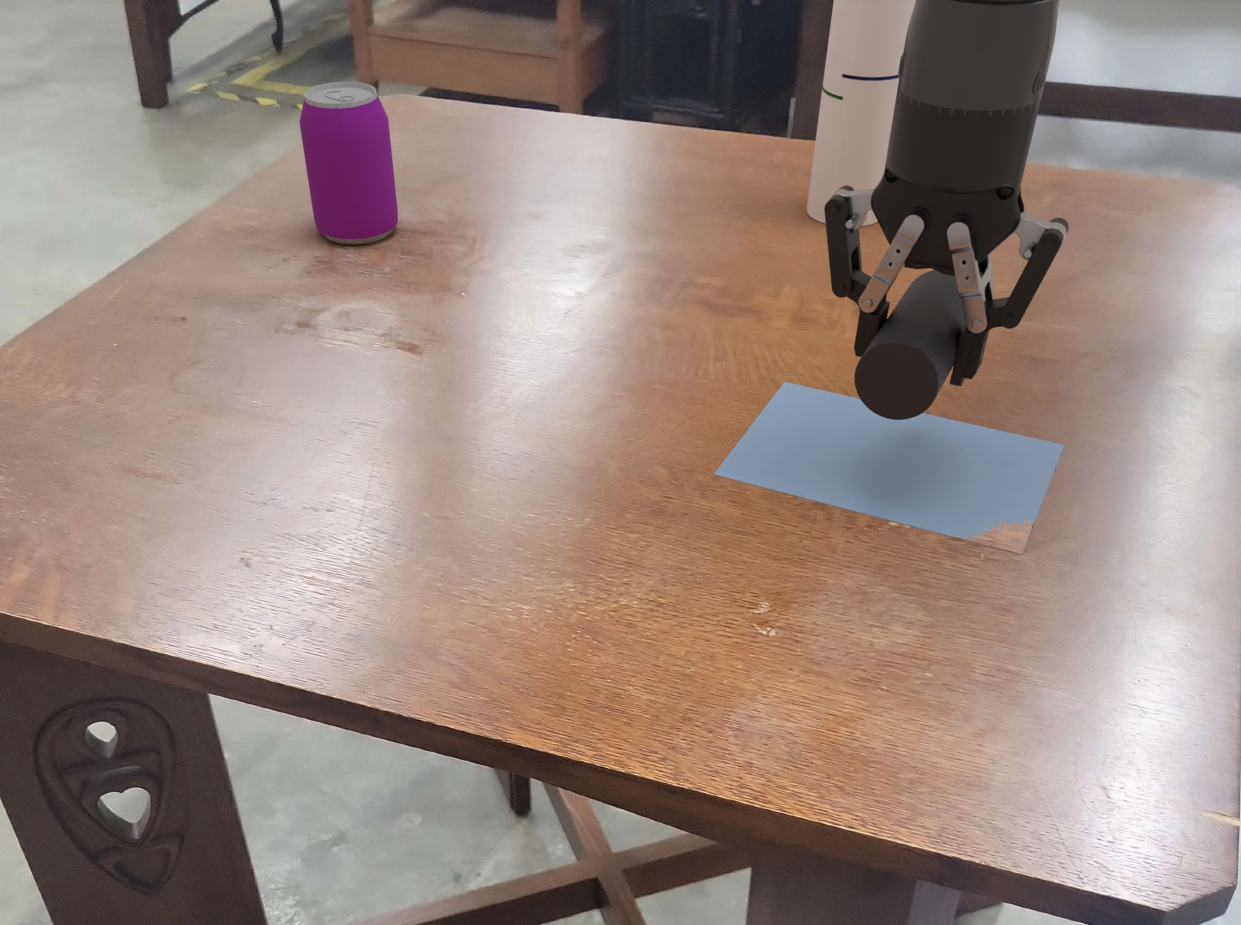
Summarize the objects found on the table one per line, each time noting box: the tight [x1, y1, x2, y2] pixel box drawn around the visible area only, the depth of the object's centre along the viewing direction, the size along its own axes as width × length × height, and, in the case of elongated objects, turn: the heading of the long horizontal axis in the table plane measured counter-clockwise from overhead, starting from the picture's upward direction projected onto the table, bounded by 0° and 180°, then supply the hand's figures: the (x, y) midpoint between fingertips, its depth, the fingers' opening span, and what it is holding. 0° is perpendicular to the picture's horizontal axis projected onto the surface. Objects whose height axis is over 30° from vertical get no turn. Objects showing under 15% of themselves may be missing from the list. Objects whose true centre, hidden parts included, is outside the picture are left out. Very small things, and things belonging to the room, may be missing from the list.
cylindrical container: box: [806, 0, 916, 227], centre depth 103 cm, size 7×7×25 cm
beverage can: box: [299, 81, 399, 246], centre depth 106 cm, size 8×8×12 cm
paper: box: [713, 381, 1065, 542], centre depth 80 cm, size 20×14×1 cm
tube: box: [853, 269, 966, 420], centre depth 74 cm, size 11×5×5 cm, turn 153°
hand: (913, 370), depth 75 cm, fingers closed on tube, 5 cm apart
